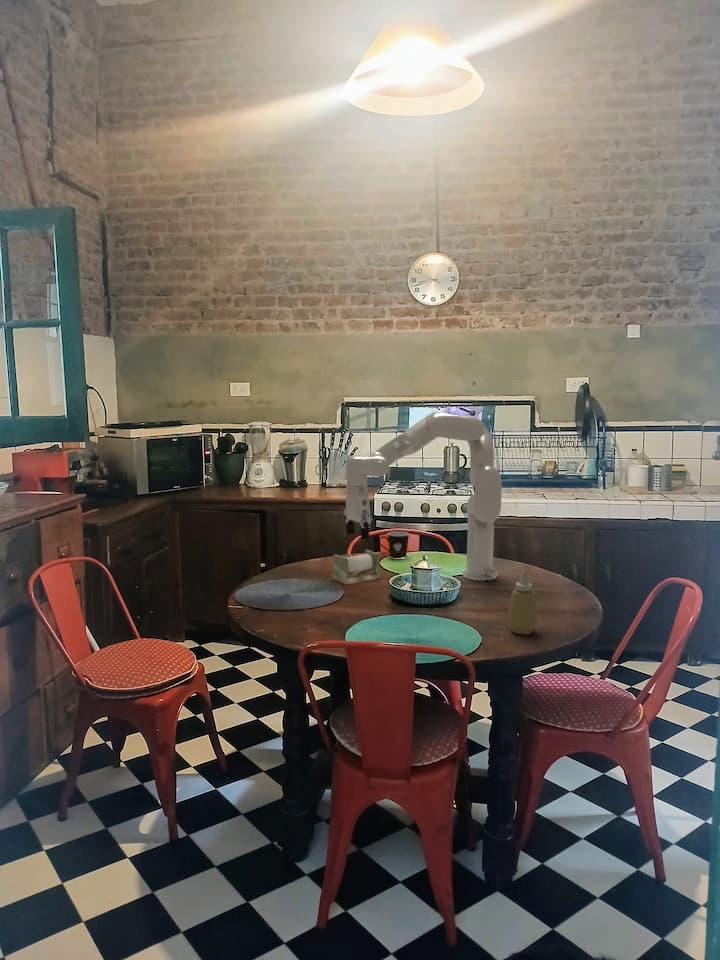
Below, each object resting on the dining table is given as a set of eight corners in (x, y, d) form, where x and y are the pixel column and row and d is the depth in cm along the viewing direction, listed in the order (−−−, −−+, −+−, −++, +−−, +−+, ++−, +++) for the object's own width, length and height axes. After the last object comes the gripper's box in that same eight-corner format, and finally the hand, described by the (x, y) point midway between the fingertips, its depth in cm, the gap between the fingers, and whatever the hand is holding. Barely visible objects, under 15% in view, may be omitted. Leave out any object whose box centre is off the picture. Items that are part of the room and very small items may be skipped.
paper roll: (364, 568, 276) (364, 552, 276) (372, 571, 271) (372, 555, 270) (340, 572, 271) (340, 556, 270) (349, 575, 266) (348, 559, 265)
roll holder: (366, 572, 279) (367, 549, 278) (380, 578, 272) (380, 554, 271) (332, 578, 271) (332, 554, 270) (345, 584, 264) (345, 559, 263)
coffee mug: (412, 557, 303) (412, 533, 302) (402, 561, 296) (402, 537, 294) (387, 553, 309) (388, 529, 308) (377, 557, 302) (377, 533, 301)
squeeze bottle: (532, 626, 221) (534, 568, 218) (539, 636, 213) (541, 575, 210) (505, 626, 221) (507, 568, 218) (511, 636, 213) (513, 575, 210)
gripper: (379, 492, 262) (379, 539, 264) (353, 486, 276) (353, 530, 279) (361, 494, 258) (361, 542, 260) (335, 487, 272) (336, 533, 275)
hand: (357, 536), depth 269 cm, fingers open, 9 cm apart
